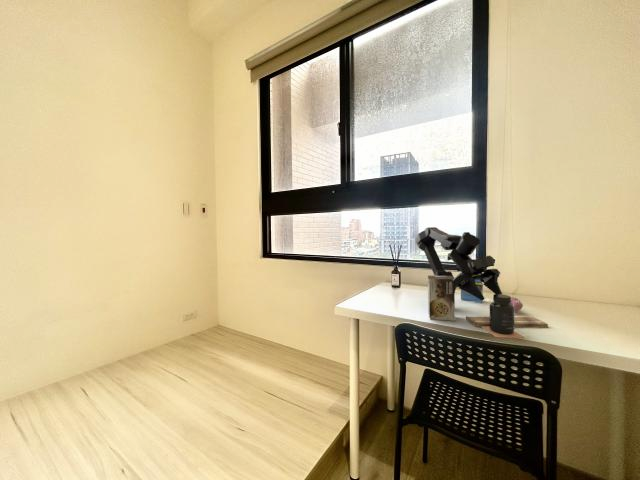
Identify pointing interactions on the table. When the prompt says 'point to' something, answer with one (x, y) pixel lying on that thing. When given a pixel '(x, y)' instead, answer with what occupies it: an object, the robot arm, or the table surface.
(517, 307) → the video game controller
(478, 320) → the walnut board
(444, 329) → the table surface
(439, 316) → the coffee box
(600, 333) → the table surface
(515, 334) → the end pad
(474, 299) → the label tape box
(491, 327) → the supplement bottle
